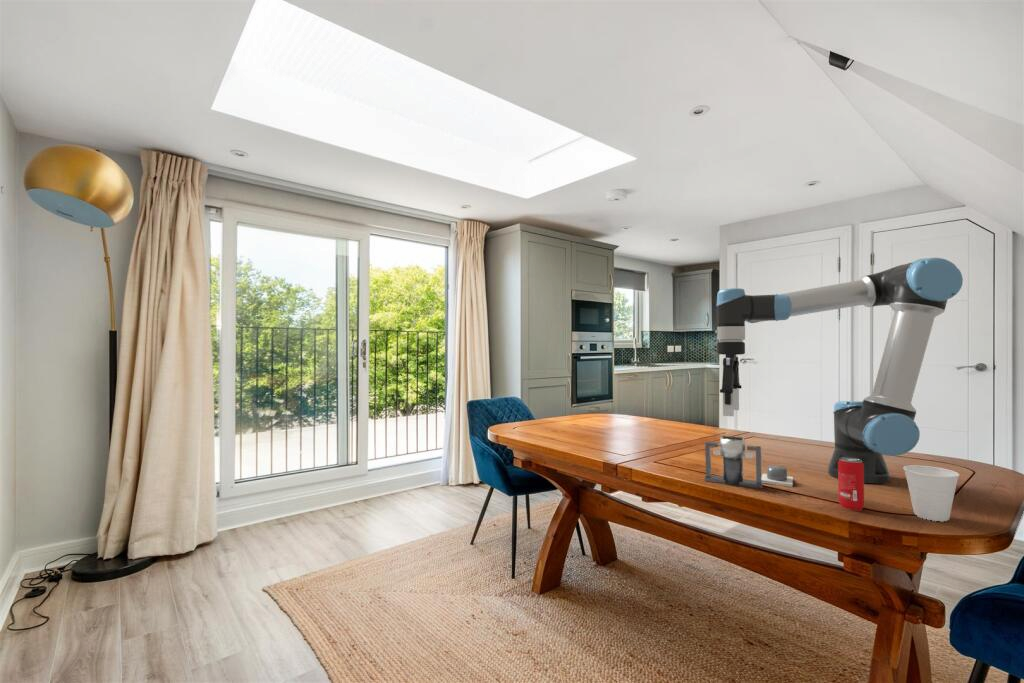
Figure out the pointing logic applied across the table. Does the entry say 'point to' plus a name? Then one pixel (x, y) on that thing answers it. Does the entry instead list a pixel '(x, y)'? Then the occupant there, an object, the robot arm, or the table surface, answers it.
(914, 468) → the cup
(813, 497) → the table surface
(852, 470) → the beverage can
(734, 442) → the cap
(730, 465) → the gray u-shaped frame
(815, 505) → the table surface
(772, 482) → the stand
